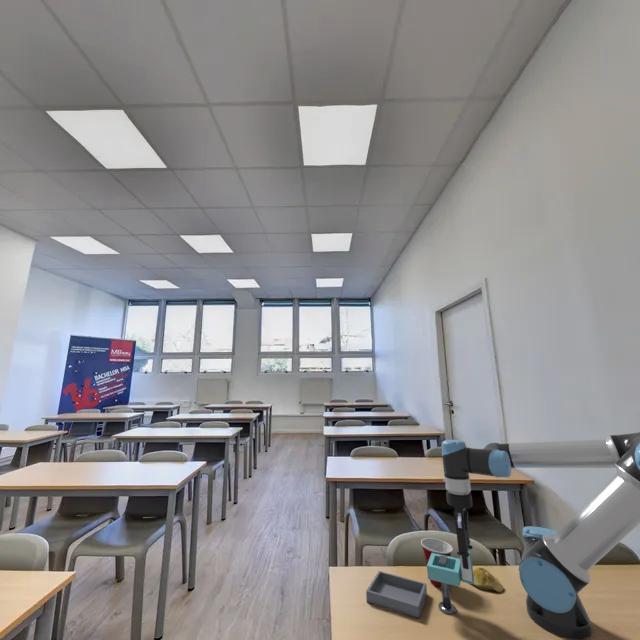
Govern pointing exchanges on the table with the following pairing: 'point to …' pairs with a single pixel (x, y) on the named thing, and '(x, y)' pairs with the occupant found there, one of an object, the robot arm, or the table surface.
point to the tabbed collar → (447, 570)
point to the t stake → (446, 591)
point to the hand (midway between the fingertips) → (467, 576)
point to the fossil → (486, 580)
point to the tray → (397, 594)
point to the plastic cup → (435, 551)
